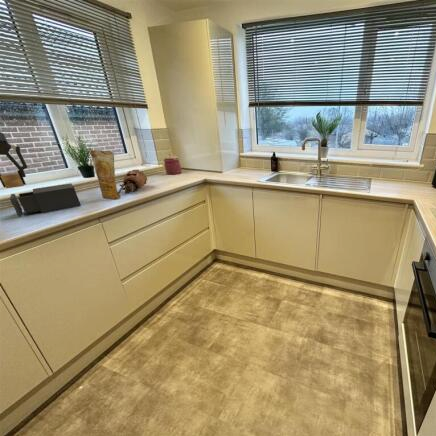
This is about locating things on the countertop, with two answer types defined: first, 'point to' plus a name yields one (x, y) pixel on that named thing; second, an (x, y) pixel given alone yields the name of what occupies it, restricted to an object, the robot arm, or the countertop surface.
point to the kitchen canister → (172, 164)
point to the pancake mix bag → (105, 172)
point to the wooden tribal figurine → (133, 181)
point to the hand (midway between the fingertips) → (15, 185)
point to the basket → (23, 203)
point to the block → (11, 180)
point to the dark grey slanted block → (56, 198)
